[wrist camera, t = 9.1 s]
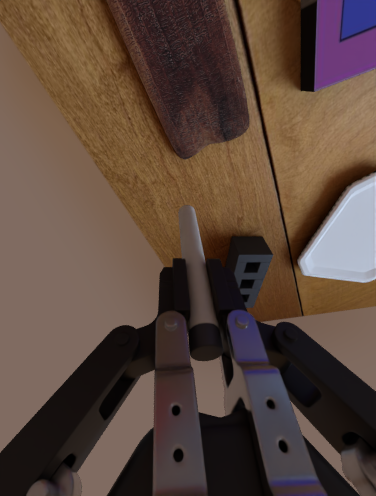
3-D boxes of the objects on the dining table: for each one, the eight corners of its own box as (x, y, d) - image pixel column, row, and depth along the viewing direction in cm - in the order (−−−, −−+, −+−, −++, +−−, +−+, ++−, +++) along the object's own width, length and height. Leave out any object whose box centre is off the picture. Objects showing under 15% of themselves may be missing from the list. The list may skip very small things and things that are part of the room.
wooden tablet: (-17, -261, 12) (129, -478, 10) (9, -223, 14) (139, -397, 11) (178, 166, 28) (256, 133, 25) (179, 160, 30) (252, 128, 27)
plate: (354, 159, 30) (365, 164, 29) (462, 186, 34) (478, 192, 33) (284, 266, 43) (289, 274, 41) (370, 277, 46) (377, 285, 45)
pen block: (245, 287, 46) (253, 307, 42) (220, 288, 45) (225, 308, 41) (262, 236, 38) (273, 254, 34) (231, 236, 37) (239, 254, 33)
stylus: (177, 218, 19) (186, 361, 9) (180, 203, 18) (194, 344, 8) (192, 220, 19) (218, 362, 9) (196, 206, 18) (228, 345, 9)
